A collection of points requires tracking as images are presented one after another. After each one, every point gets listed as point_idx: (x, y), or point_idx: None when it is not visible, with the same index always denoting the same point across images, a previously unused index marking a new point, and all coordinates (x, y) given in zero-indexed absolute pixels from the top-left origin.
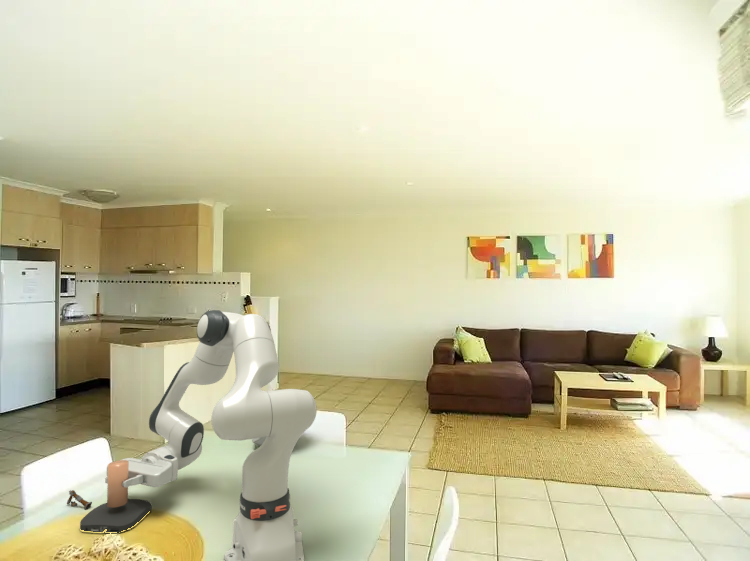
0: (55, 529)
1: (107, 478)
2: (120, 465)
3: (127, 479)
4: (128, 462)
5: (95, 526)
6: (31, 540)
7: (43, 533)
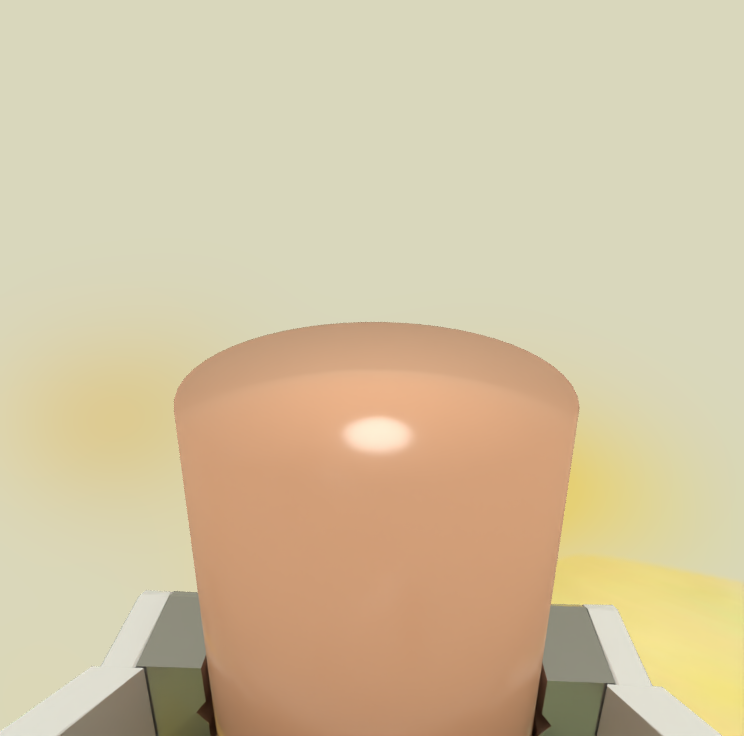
0: (669, 669)
1: (563, 606)
2: (249, 355)
3: (166, 640)
4: (193, 444)
5: None
6: (623, 564)
7: (666, 619)
